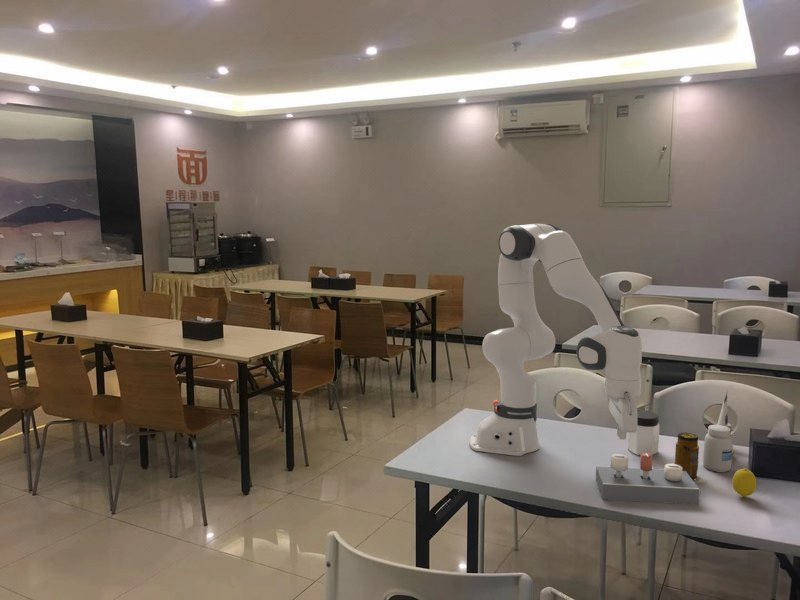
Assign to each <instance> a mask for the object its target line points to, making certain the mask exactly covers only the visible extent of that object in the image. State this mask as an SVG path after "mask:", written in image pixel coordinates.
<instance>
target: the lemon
mask: <svg viewBox="0 0 800 600" xmlns="http://www.w3.org/2000/svg"><path fill="white" fill-rule="evenodd" d="M732 488H733V489H734V491H735V492H736V493H737V494H738V495H740V496H741V498H746V497H748V496H751V495H753V494H754V493H755V491H756V488H757V479H756V476H755V474H754V473H753V472H752V471H751V470H749V469H748V468H745V467H744V468H741V469H738V470H736V472H734V475H733V476H732Z"/></svg>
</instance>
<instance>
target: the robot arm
mask: <svg viewBox="0 0 800 600" xmlns="http://www.w3.org/2000/svg"><path fill="white" fill-rule="evenodd" d="M498 237H499V238H498V249H499V251H500V256H499V260H498V268H497V270H498V271H497V286H498V303H499V308H500V310H501V311H502V312H503V313H504V314H506V315H508V316H509V317H510V319H511V320H512V324H513V327H506V328H498V329H497V330H493V331H491V332H489V333H487V334H486V335H485V336H484V338H483V340H482V346H481V348H482V353H483V355H484V357H485V359H486V360H487V361H488V362H489V363H491V364H492V365H493V366H494V367H495V369H496V371H497V373H498V376H499V379H500V380H499V382H500V400H498V399H494V400H493V402H492V406H493V408H494V409H493V411H494V412H492V414H490V415H489V416H487V417H486V418H483V420H480V423H479V424H478V426H477V429H476V432H475V433H474V434H472V435H471V437H470V439H469V447H470V448H471V449H472V450H473V451H475V452H481V453H482V452H484V453H491V454H499V455H506V456H507V455H508V456H515V457H522V456H524V455H525V454H528V453H532V452H535V451H537V450H539V449H540V447H541V446H540V445H541V443H540V441H539V436H538V431H537V430H538V429H537V419H538V404H537V402H536V401H537V382H536V379H535V377H534V376H533V375H532V374H530V373H528V372H526V370H525V368H524V367H525V366H524V365H525V364H524V362H525V361H531V360H532V361H533V360H540V359H542V358H544V357H546V356H548V355H550V354H552V353H553V351H554V350H555V347H556V337H555V334H554V331H552V329H551V328H550V327H549V326H547V325H546V324H545V323H544V321H543V320H542V319H541V317H540V314H539V313H538V309H537V304H536V298H535V297H536V296H535V286H534V285H535V284H534V283H535V282H534V274H533V273H534V272H533V271H534V266H535V264H536V263H537V262H540V263H542V265H543V269H544V273H545V274H546V276H547V279H548V282H549V285H550V286H551V288H552V290H553V291H554V292H555V293H556V294H557V295H559V296H560V297H562V298H566V299H568V300H573V301H575V302H578V303H580V304H582V305H584V306H586V307H587V308H588V309H589V310H590V312H591V313H592V314H593V315H592V316H594V319H595V321H596V322H597V324H598V326H599V328H600V330H601V331H602V332H600V333H596V334H592V335H588V336H584V337H583V338H580V340H579V341H578V343H577V345H576V353H575V354H576V359H577V361H578V362H579V364H580V365H581V366H582V367H583V368H584V369H586V370H587V371H604V372H605V380H604V385H605V394H606V397H607V407H608V411H609V412H610V413H611V415H612V418H613V419H614V421H615V424H616V430H617V431H616V435H617V436H618V438H619V440H626V439H627V433H628V434H629V433H635V432H636V431H637V411H638V405H637V403H636V398H638V397H641V393H642V392H641V391H642V390H641V389H642V387H641V386H642V385H641V384H642V375H641V372H640V371H641V369H640V368H641V364H642V360H643V358H642V356H643V355H642V353H643V351H642V350H643V349H642V348H643V347H642V339H641V335H640V333H639V332H638V331H637V330H636V329H634V328H633V327H630V326H627V325H624V323H623V321H622V319H621V318H620V316H619V314H618V312H617V310H616V308H615V307H614V305H613V303H612V301H611V299H610V297H609V296H608V294H607V292H606V290H605V289H604V288H603V286H602V285H601V284H600V283H599V281H597V280H596V279H595V278H594V277H593V275H592V274H591V272H590V271H589V269H588V267H587V265H586V263H585V261H584V259H583V256H582V254H581V252H580V250H579V248H578V247H577V245H576V242H575V241H574V240H573V238H572V236H571V235H570V234H569V233H568V232H567V231H564V230H563V229H561V227H559V226H557V225H555V224H551V223H529V224H528V223H527V224H521V225H518V224H515V225H510V226H507V227H506V228H504V229H503V230H502V232H500V235H499V236H498Z"/></svg>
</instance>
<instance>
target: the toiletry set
mask: <svg viewBox="0 0 800 600" xmlns="http://www.w3.org/2000/svg"><path fill="white" fill-rule="evenodd" d="M717 420H718V421H717V424H710V425H708V428H707V433H706V435H705V436H704V441H703V455H702V465H703V467H704V468H706V469H707V470H709V471H712V472H718V473H726V472H729V471H730V470H731V468H732V460H734V458H735V456H734V455H735V449H734V446H733V439H732V437H731V434H732V432H734V429H733V427H732V424H731V423H729V421H728V388H727V389H726V392H725V394H724V399H723V402H722V407H721V410H720V413H719V417H718V419H717Z"/></svg>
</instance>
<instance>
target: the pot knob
mask: <svg viewBox="0 0 800 600" xmlns="http://www.w3.org/2000/svg"><path fill="white" fill-rule="evenodd" d="M653 456H654V455H652V454H650V453H641V455H640V460H639V469H641V470H643V479H645V480H648V475H649V471H652V469H653V459H654V457H653Z"/></svg>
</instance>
